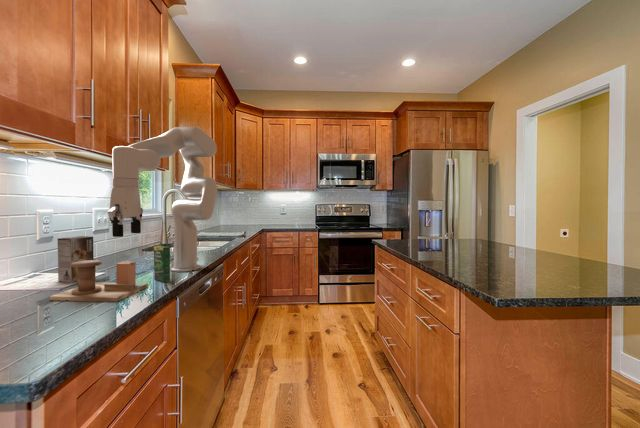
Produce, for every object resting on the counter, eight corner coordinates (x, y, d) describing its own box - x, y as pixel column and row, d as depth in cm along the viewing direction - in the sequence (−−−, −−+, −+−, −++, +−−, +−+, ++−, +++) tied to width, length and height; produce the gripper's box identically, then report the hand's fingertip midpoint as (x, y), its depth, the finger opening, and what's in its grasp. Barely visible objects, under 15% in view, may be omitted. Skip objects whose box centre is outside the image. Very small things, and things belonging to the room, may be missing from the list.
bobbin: (83, 288, 103) (83, 260, 102) (107, 288, 103) (107, 260, 102) (65, 294, 95) (64, 264, 95) (90, 295, 95) (89, 264, 95)
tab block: (123, 284, 108) (123, 261, 108) (135, 284, 108) (135, 261, 108) (116, 287, 104) (116, 263, 104) (128, 287, 104) (128, 263, 104)
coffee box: (80, 276, 124) (80, 235, 124) (94, 277, 123) (94, 236, 122) (57, 281, 115) (57, 238, 115) (71, 282, 114) (71, 238, 113)
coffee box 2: (153, 279, 121) (153, 245, 121) (160, 278, 124) (160, 244, 123) (162, 282, 116) (162, 247, 116) (170, 281, 118) (170, 247, 118)
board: (91, 285, 110) (91, 276, 110) (148, 286, 110) (148, 277, 110) (49, 300, 93) (49, 289, 93) (116, 301, 93) (116, 291, 93)
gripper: (130, 184, 114) (131, 231, 115) (96, 182, 96) (98, 238, 97) (151, 185, 114) (152, 232, 115) (121, 183, 96) (122, 238, 97)
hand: (127, 234), depth 106 cm, fingers open, 9 cm apart
